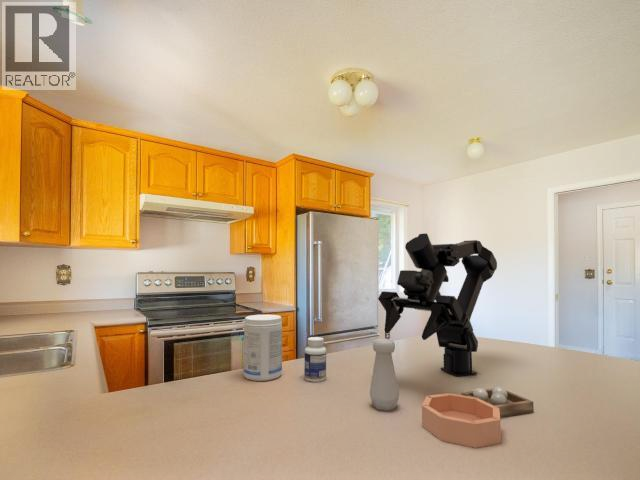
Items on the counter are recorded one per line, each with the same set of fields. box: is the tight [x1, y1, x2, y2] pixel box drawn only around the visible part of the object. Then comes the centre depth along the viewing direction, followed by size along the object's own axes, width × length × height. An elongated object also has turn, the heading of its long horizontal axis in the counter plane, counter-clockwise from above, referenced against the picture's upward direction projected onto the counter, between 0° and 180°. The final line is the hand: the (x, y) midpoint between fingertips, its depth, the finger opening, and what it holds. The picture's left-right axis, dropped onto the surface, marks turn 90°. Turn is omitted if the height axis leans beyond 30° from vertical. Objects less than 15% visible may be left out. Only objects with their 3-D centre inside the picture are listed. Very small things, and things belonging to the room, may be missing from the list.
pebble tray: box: [460, 387, 535, 419], centre depth 67 cm, size 10×8×2 cm
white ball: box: [492, 386, 508, 399], centre depth 68 cm, size 3×3×3 cm
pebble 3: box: [491, 393, 507, 406], centre depth 65 cm, size 3×3×3 cm
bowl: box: [421, 392, 502, 449], centre depth 58 cm, size 12×12×4 cm
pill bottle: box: [303, 336, 327, 383], centre depth 83 cm, size 5×5×10 cm
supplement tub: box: [243, 314, 283, 382], centre depth 85 cm, size 10×10×15 cm
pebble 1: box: [472, 387, 488, 402], centre depth 68 cm, size 3×3×3 cm
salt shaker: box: [369, 337, 400, 412], centre depth 67 cm, size 6×6×13 cm
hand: (403, 335), depth 73 cm, fingers open, 9 cm apart
